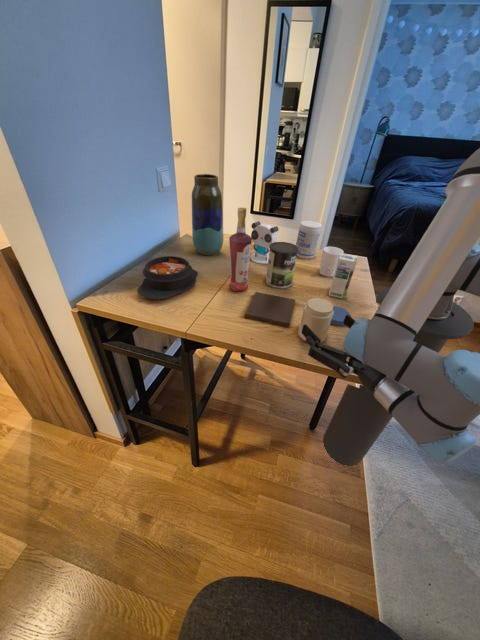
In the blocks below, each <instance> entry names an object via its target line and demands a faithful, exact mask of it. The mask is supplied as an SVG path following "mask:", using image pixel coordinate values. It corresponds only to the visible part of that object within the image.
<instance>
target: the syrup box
mask: <svg viewBox="0 0 480 640" xmlns="http://www.w3.org/2000/svg"><path fill="white" fill-rule="evenodd" d="M357 262H358V255H353V254H347V253H340V256H339V259H338V262H337V266H336V269H335V273H334V276H332V280H331V284H330V287H329V291H328V296H329V297H334V298H338V299H342V300H345V299H346V296H347V292H348V289H349V287H350V283H351V281H352V278H353V274H354V272H355V270H356V266H357Z"/></svg>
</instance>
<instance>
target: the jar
mask: <svg viewBox="0 0 480 640" xmlns="http://www.w3.org/2000/svg"><path fill="white" fill-rule="evenodd" d="M333 306H334V305H333V304H332V303H331V302H330V301H328V300H327V299H324V298H318V297H313V298H310V299H309V300H307V302H306V303H305V305H304V306H303V310H302V314H301V319H300V322H299V327H298V331H297V333H298V337H300V339H301V340H303V341H304V342H306V338H305V336H304V335H303V334H302V329H303V325H305V324H306V325H307V326H308V327H309V328H310V329H311V330H312V331H313V332H314V334H315V335H316V336H317V337H318V338H319V339H320V340H321V342H320V343H321V344H322V343H323V342H324V341H326V338H327V335H328V332H329V329H330V326H331V324H330V323H331V320H332V317H333V314H334V311H333Z"/></svg>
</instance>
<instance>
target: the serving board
mask: <svg viewBox="0 0 480 640" xmlns="http://www.w3.org/2000/svg"><path fill="white" fill-rule="evenodd" d="M295 304H296V299H295V298H290V297H285V296H279V295H274V294H270V293H263V292H258V291H255V293H254V295H253V297H252V299H251V300H250V303H249V304H248V307H247V309H246V311H245V313H244V319H245V318H246V319H249V320H255V321H259V322H264V323H267V324H272V325H276V326H282V327H285V328H290V324H291V320H292V317H293V312H294V307H295Z"/></svg>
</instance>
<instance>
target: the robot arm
mask: <svg viewBox="0 0 480 640" xmlns="http://www.w3.org/2000/svg"><path fill="white" fill-rule="evenodd" d="M444 194H445V197H446V198H445V200H444V202H443V203H442V205H441V207H440V208H439V210H438V211H437V213H436V215H435V216H434V218H433V219H432V221H431V223H430V224H429V226H428V227H427V229H426V230H425V232H424V233H423V235H422V237H421V239H420V240H419V242H418V243H417V245H416V246H415V248H414V249H413V251H412V253H411V255H410V256H409V258H408V260H407V261H406V263H405V264H404V265H403V268H402V269H401V270H400V272H399V274H398V275H397V277H396V279H395V281H394V282H393V283H392V285H391V286H390V287H391V288H390V290H389V292H388V293H387V295H386V296H385V298H384V300H383V301H382V303H381V304H380V305H379V306H378V307H377V309H376V311H375V313H374V314H373V316H372V317H371V319H369V318H365V317H359V318H358V319H354V318H353V317H352V316H351V317H350V316H349V315H346V317H345V319H344V322H343V323H344V324H345V325H344V326H346V327H347V328H348V329H349V330H348V331H347V333H346V335H345V337H344V339H343V344H342V346H343V349H344V350H341V349H338V348H336V347H332V346H329V345H327V344H324V343H322V342H321V340H320V339H319V338H318V337H317V336H316V335H315V334H314V332H313V331H312V330H311V329H310V328H309V327H308V326H307V325H306V324H305V325H303V329H302V334H303V335H304V336H305V338H306V341H305V342H306V343H307V344H308V345H309V349H308V354H307V355H308V357H310V358H312V359H314V360H315V361H317V362H319V363H320V364H322V365H324V366H326V367H328V368H329V369H331V370H333V371H335V372H336V373H337V374H338V375H339V376H340V377H341V378H343V379H347V378H348V377H349V375H350V374H354V375H356V376H357V377H358V380H359V381H360V384H361V385H363V386H364V387H365V388H366V389H367V390H368V391H369V392H370V393H371V394H374V397H375V398H376V399H377V400H378V401H379V402H380V404H381V405H382V406H383V407H384V408H385V409H386V410H387V411H388V412H389V413H390V414H391V415H392V416H393V417H392V418H393V419H394V420H395V421H396V422H397V423H398V424H399V425H400V426H401V427H402V429H403V430H404V431H405V433H407V434H408V435H409V436H410V437H411V438H412V439H413V441H414V442H415V443H416V445H417V446H418V447H420V449H422V450H423V451H424V452H425V453H426V454H427V455H428V456H429V457H430V458H431V459H432V460H433V461H434V462H436V463H438V464H441V465H445V464H449V463H451V462H452V461H455V460H456V459H458V458H459V457H461V456H462V455H464V454H465V453H467V452H468V451H469V450H471V449H472V448H473V447H474V446H475V444H476V443H477V439H476V437H475V436H474V434H472V433H471V432H470V429H468V426H469V425H470V424H471V423H472V422H473V421H474V420H475V419H477V417H479V416H480V352H477V351H472V352H471V351H469V350H467V349H455V350H453V351H451V352H450V353H448V354H447V355H444V354H441V352H439V353H438V352H435V351H433V350H431V349H429V348H427V347H425V346H423V345H421V344H419V343H416V342H414V341H413V339H414V337H415V335H416V334H417V333H418V331H419V330H420V328H421V327H422V325H423V324H424V322H425V321H426V320H431V321H442V320H445V319H447V318H448V316H449V315H450V314H451V315H452V316H455V314H454V313H453V312H452V311H451V309H452V304H453V302H454V298H455V295H456V293H457V292H458V291H461V292H465V293H468V294H470V295H473V296H475V297H478V298H480V244H478V243H477V242H478V240H479V239H480V147H479V148H478V149H476V150H475V151H474V152H473V153H472V154H471V155H470V156H469V157H467V159H466V160H465V161H464V162H463V163H462V164H461V165H460V166H459V167H458V169H457V170H456V172H455V173H454V174H453V176H452V177H451V179H450V181H448V184H447V185H446V187H445V191H444ZM320 342H321V343H320ZM347 359H348V361H347Z"/></svg>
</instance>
